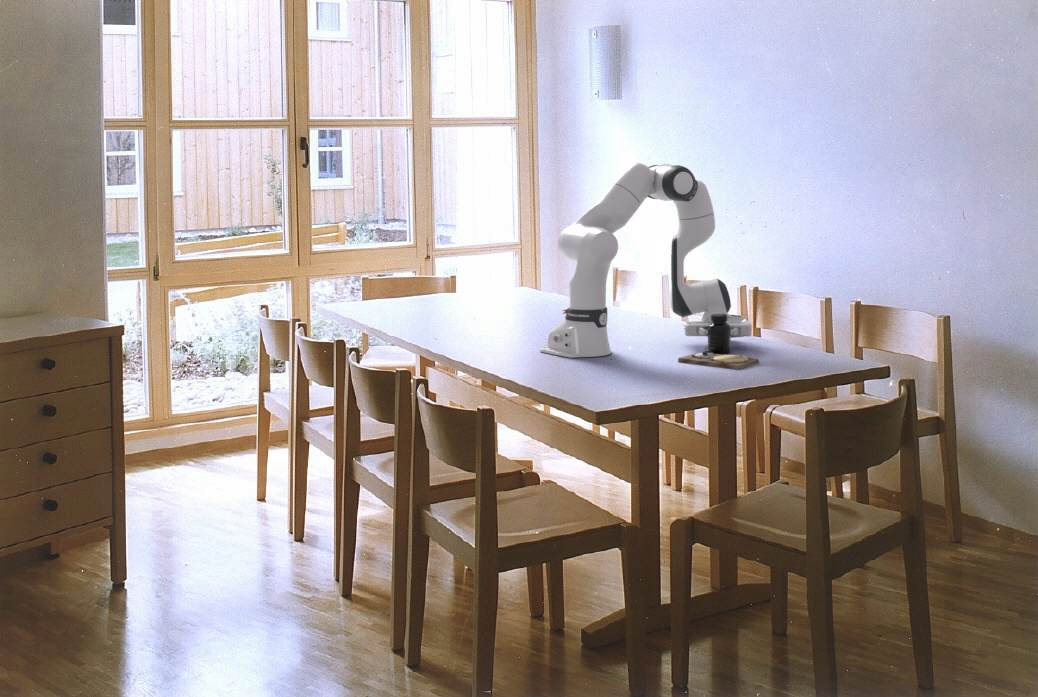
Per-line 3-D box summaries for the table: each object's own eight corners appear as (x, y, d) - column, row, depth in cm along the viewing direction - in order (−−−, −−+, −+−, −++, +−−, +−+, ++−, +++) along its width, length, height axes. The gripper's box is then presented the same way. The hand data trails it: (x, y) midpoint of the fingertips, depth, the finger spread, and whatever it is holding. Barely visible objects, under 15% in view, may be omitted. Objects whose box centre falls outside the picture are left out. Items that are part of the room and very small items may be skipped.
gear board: (678, 362, 356) (678, 352, 355) (699, 355, 365) (700, 346, 364) (738, 369, 343) (738, 359, 343) (759, 363, 352) (759, 352, 352)
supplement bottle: (717, 351, 372) (718, 312, 370) (735, 353, 367) (735, 314, 365) (702, 354, 368) (703, 314, 366) (720, 356, 363) (720, 317, 361)
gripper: (683, 315, 380) (684, 322, 366) (749, 316, 377) (753, 322, 364) (683, 335, 381) (684, 343, 367) (749, 336, 379) (752, 343, 365)
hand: (719, 333), depth 366 cm, fingers closed on supplement bottle, 7 cm apart
